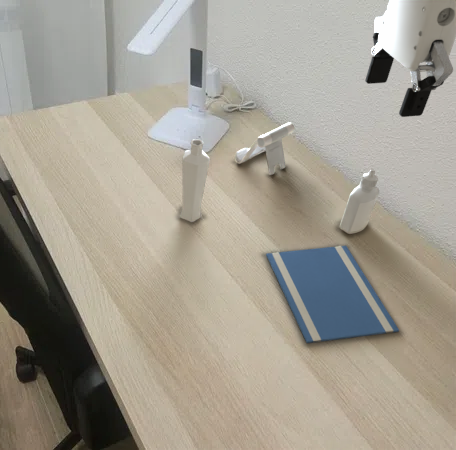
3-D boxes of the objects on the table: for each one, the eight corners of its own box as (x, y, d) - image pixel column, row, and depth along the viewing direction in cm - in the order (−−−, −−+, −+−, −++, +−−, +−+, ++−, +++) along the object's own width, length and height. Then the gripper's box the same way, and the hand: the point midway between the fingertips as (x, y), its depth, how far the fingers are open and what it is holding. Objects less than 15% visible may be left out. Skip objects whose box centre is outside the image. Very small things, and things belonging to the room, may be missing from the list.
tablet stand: (262, 146, 115) (269, 111, 110) (292, 163, 111) (300, 127, 106) (234, 161, 111) (239, 124, 106) (263, 179, 107) (270, 142, 101)
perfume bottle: (207, 211, 99) (216, 140, 89) (196, 225, 96) (204, 152, 86) (185, 203, 100) (191, 131, 91) (173, 216, 97) (178, 143, 88)
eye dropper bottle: (373, 233, 95) (395, 177, 88) (342, 235, 95) (361, 178, 87) (363, 217, 99) (383, 161, 91) (333, 218, 98) (351, 163, 90)
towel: (345, 247, 93) (346, 245, 92) (398, 331, 79) (399, 329, 79) (265, 255, 91) (266, 253, 90) (306, 343, 77) (307, 341, 77)
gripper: (509, -7, 61) (451, 127, 72) (424, -50, 74) (386, 70, 85) (448, -5, 60) (398, 131, 71) (373, -49, 73) (340, 72, 84)
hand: (391, 98), depth 78 cm, fingers open, 9 cm apart
